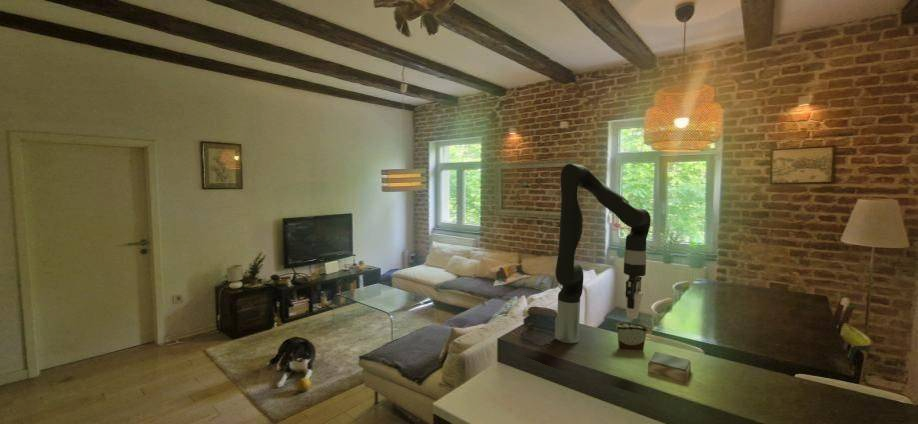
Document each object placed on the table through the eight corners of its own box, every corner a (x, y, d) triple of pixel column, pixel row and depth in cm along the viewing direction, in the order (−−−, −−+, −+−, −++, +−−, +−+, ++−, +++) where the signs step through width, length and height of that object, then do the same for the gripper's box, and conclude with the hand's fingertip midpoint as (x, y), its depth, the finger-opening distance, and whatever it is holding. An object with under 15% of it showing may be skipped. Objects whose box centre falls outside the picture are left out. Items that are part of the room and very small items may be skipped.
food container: (641, 345, 163) (642, 322, 162) (647, 351, 157) (648, 327, 156) (611, 344, 164) (612, 320, 164) (615, 349, 158) (616, 325, 158)
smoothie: (633, 320, 142) (635, 282, 141) (619, 315, 148) (621, 279, 147) (645, 318, 145) (647, 281, 144) (630, 313, 150) (632, 277, 150)
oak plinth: (647, 371, 138) (648, 360, 138) (653, 361, 147) (654, 351, 147) (686, 382, 131) (687, 370, 131) (690, 370, 140) (691, 359, 140)
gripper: (629, 258, 153) (627, 300, 154) (619, 263, 142) (617, 308, 142) (649, 260, 149) (647, 304, 149) (641, 265, 137) (639, 312, 138)
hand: (632, 306), depth 146 cm, fingers closed on smoothie, 6 cm apart
